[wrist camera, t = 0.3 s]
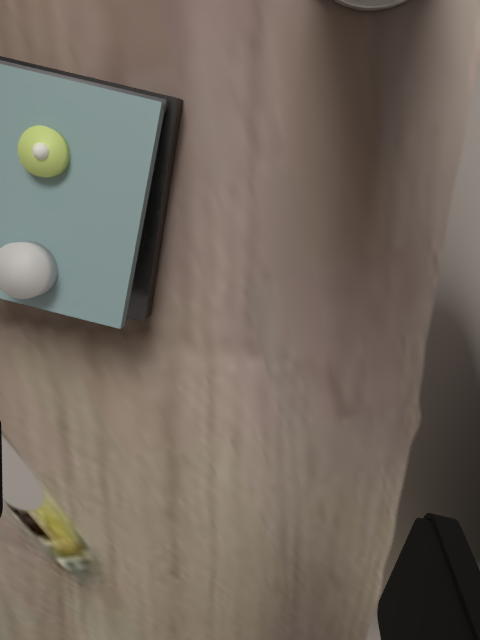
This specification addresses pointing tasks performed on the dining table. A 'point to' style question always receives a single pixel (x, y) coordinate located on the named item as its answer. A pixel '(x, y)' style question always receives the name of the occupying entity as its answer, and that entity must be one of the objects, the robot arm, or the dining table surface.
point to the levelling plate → (73, 191)
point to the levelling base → (156, 201)
